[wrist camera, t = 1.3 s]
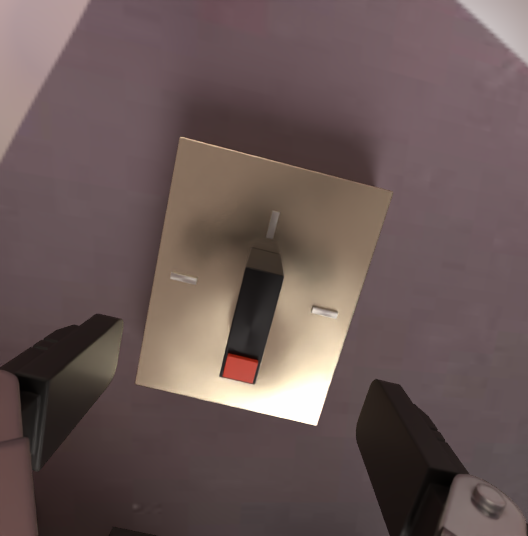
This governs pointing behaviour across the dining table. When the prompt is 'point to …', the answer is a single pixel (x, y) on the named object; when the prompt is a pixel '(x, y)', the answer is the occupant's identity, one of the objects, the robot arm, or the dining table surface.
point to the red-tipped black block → (253, 316)
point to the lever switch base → (232, 270)
